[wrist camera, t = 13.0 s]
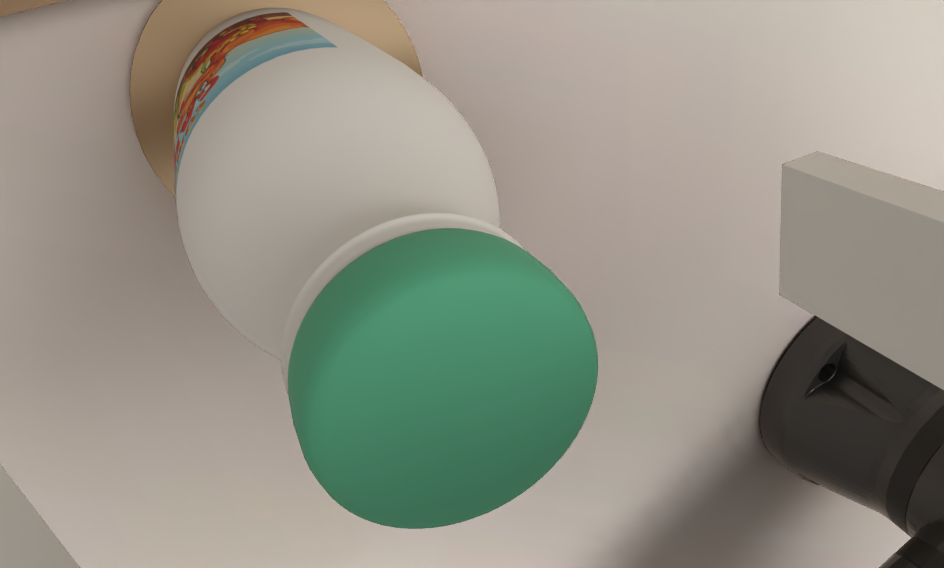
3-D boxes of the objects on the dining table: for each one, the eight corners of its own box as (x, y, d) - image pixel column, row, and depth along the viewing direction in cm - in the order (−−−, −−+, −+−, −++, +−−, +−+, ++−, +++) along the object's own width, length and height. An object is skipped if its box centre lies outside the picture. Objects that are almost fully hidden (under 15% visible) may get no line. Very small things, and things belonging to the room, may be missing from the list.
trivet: (443, 186, 31) (450, 193, 30) (203, 269, 29) (203, 279, 28) (378, -81, 25) (384, -82, 25) (73, -6, 23) (69, -4, 22)
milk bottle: (354, -16, 25) (698, 75, 9) (399, 177, 29) (696, 498, 12) (138, 31, 23) (44, 264, 7) (217, 231, 27) (281, 691, 11)
